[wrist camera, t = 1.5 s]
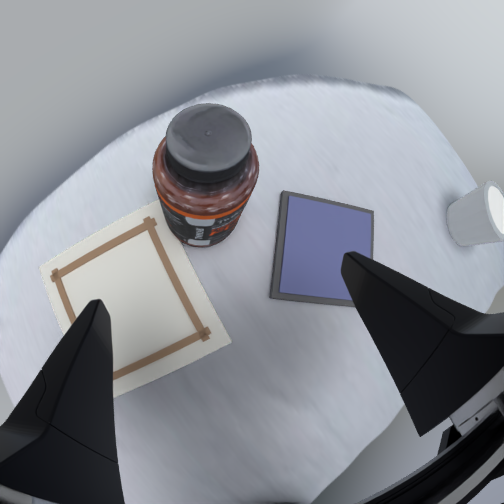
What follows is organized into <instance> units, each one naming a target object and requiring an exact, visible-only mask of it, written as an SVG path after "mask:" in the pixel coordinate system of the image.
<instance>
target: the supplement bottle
mask: <svg viewBox="0 0 504 504" xmlns="http://www.w3.org/2000/svg"><path fill="white" fill-rule="evenodd" d="M251 141H252V137H251V130H250V128H249V125H248V123H247V122H246V120H245V119H244V118H243V117H242V116H241V115H240V114H239V113H237V112H236V111H234V110H232V109H231V108H229V107H226V106H223V105H219V104H211V103H206V104H198V105H194V106H191V107H188V108H186V109H184V110H183V111H181V112H179V113H178V114H177V115H176V116H175V117H174V118H173V119H172V121H171V122H170V124H169V126H168V128H167V131H166V136H165V137H164V138H163V140H162V141H161V142H160V144H159V145H158V148H157V150H156V152H155V155H154V159H153V168H152V169H153V179H154V183H155V187H156V191H157V194H158V197H159V201H160V204H161V207H162V210H163V214H164V217H165V220H166V223H167V225H168V227H169V229H170V230H171V232H172V233H173V234H174V235H175V237H176V238H178V239H179V240H180V241H182V242H184V243H186V244H188V245H192V246H196V247H207V246H211V245H214V244H217V243H219V242H221V241H222V240H224V239H225V238H226V237H227V236H228V235H229V234H230V233H231V232H232V231H233V230H234V228H235V226H236V224H237V222H238V220H239V217H240V216H241V213H242V211H243V209H244V207H245V206H246V204H247V202H248V200H249V197H250V196H251V193H252V191H253V189H254V187H255V185H256V182H257V178H258V174H259V161H258V156H257V153H256V150H255V149H254V146H253V144H252V143H251Z"/></svg>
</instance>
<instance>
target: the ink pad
mask: <svg viewBox="0 0 504 504" xmlns="http://www.w3.org/2000/svg"><path fill="white" fill-rule="evenodd" d="M373 241H374V211H372V210H368V209H364V208H360V207H356V206H352V205H348V204H344V203H339V202H335V201H331V200H326V199H322V198H317V197H313V196H308V195H303V194H299V193H294V192H289V191H284V190H283V191H282V193H281V200H280V210H279V219H278V229H277V238H276V248H275V257H274V266H273V274H272V283H271V291H270V298H275V299H283V300H292V301H301V302H310V303H320V304H330V305H340V306H352V307H355V305H354V303H353V301H352V299H351V296H350V294H349V292H348V289H347V287H346V285H345V282H344V280H343V278H342V275H341V265H342V260H343V255H344V253H346V252H350V251H356V252H358V253H360V254H362V255H364V256H366V257H368V258H370V259H372V260H373Z"/></svg>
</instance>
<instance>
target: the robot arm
mask: <svg viewBox="0 0 504 504" xmlns="http://www.w3.org/2000/svg"><path fill="white" fill-rule="evenodd" d="M341 275H342V278H343V280H344V282H345V285H346V287H347V289H348V292H349V294H350V296H351V299H352V301H353V303H354V305H355V307H356V309H357V311H358V313H359V315H360V317H361V318H362V320H363V322H364V324H365V326H366V328H367V330H368V331H369V333H370V335H371V337H372V339H373V341H374V343H375V345H376V346H377V348H378V350H379V352H380V354H381V356H382V358H383V360H384V362H385V364H386V366H387V368H388V370H389V372H390V374H391V376H392V378H393V380H394V382H395V384H396V386H397V388H398V390H399V392H400V393H401V394H400V395H401V397H402V399H403V401H404V403H405V406H406V407H407V410H408V412H409V414H410V416H411V419H412V421H413V423H414V425H415V428H416V430H417V432H418V434H419V436H420V437H421V436H423V435H424V434H426V433H427V432H429V431H430V430H432V429H433V428H434V427H436V426H437V425H439V424H440V423H441V422H443V421H444V420H446V419H447V418H448V417H449V418H450V420H451V421H452V423H453V425H452V426H450V427H449V428H448V429H446V430H445V431H444V432H443V434H442V439H441V443H440V447H439V450H438V455H437V456H436V457H435V458H433V459H432V460H430V461H429V462H428V463H426V464H425V465H423V466H422V467H420V468H419V469H417V470H416V471H414V472H413V473H411V474H409V475H408V476H406V477H404V478H403V479H401V480H399V481H398V482H396V483H395V484H393V485H391V486H389V487H387V488H385V489H384V490H382V491H380V492H378V493H376V494H374V495H372V496H370V497H368V498H366V499H364V500H362V501H359V502H357V503H355V504H467V503H468V502H469V501H470V500H471V499H472V498H473V497H475V496H476V495H477V494H478V493H479V492H480V491H481V490H482V489H483V488H484V487H485V486H486V485H487V484H488V483H489V482H490V481H491V480H493V479H496V478H498V477H501V476H503V475H504V313H497V314H484V313H481V312H478V311H476V310H474V309H472V308H469V307H467V306H465V305H463V304H461V303H458V302H456V301H454V300H452V299H450V298H448V297H445V296H443V295H442V294H440V293H438V292H436V291H434V290H432V289H430V288H428V287H426V286H424V285H422V284H420V283H418V282H416V281H414V280H413V279H411V278H409V277H407V276H405V275H403V274H401V273H399V272H397V271H395V270H393V269H391V268H389V267H387V266H385V265H383V264H381V263H379V262H377V261H374V260H372V259H370V258H368V257H366V256H364V255H362V254H360V253H358V252H356V251H350V252H346V253H344V255H343V260H342V265H341ZM0 504H125V502H124V497H123V491H122V485H121V479H120V472H119V465H118V457H117V448H116V437H115V424H114V403H113V347H112V331H111V318H110V314H109V312H108V311H107V309H106V307H105V305H104V303H103V301H102V300H101V299H94V300H91V301H89V303H88V304H87V305H86V306H85V308H84V309H83V310H82V312H81V313H80V314H79V316H78V317H77V318H76V320H75V321H74V322H73V324H72V325H71V326H70V328H69V329H68V331H67V332H66V333H65V335H64V336H63V338H62V339H61V340H60V342H59V343H58V345H57V346H56V348H55V349H54V351H53V352H52V353H51V355H50V356H49V358H48V359H47V361H46V362H45V364H44V366H43V367H42V370H40V372H39V373H38V375H37V376H36V378H35V379H34V381H33V382H32V384H31V386H30V387H29V389H28V390H27V391H26V393H25V394H24V396H23V397H22V399H21V400H20V401H19V403H18V404H17V406H16V407H15V408H14V410H13V411H12V413H11V414H10V416H9V417H8V419H7V420H6V421H5V422H4V423H3V424H2V425H1V426H0ZM501 504H504V503H501Z"/></svg>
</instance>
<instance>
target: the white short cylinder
mask: <svg viewBox="0 0 504 504" xmlns="http://www.w3.org/2000/svg"><path fill="white" fill-rule="evenodd" d="M446 217H447V226H448V229H449V232H450V235H451V236H452V238H453V240H454V241H455V242H456V243H457V244H458V245H459V246H463V247H465V246H473V245H480V244H487V243H494V242H501V241H504V193H503V191H502V190H501V188H500V187H499V186H498V185H497V184H496V183H495V182H493V181H487V182H485V183H484V184H482V185H481V186H479V187H478V188H476V189H474V190H473V191H471V192H470V193H468V194H466V195H465V196H463V197H462V198H460V199H458V200H457V201H455V202H453V203H452V204H450V206H449V207H448V209H447V215H446Z"/></svg>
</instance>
